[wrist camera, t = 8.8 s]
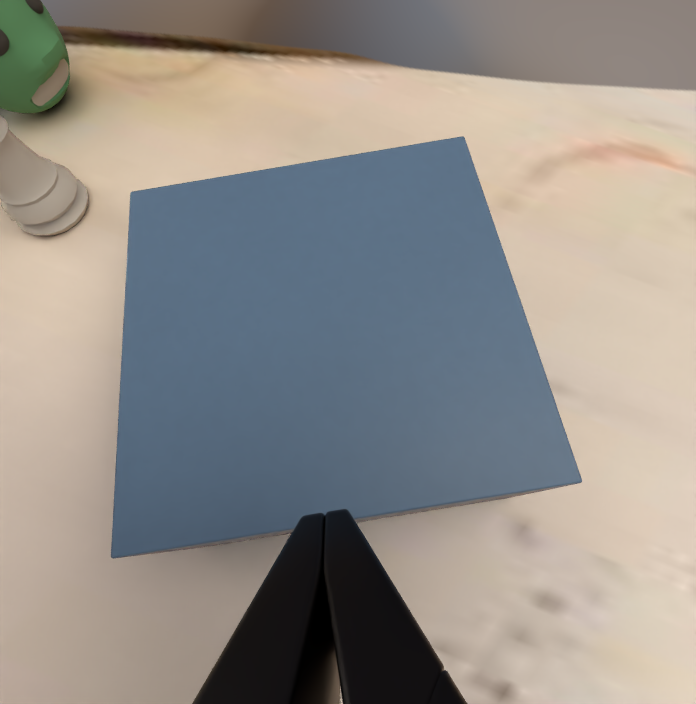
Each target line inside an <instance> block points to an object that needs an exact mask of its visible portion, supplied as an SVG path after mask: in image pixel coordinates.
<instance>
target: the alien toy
mask: <svg viewBox="0 0 696 704" xmlns="http://www.w3.org/2000/svg"><path fill="white" fill-rule="evenodd" d="M69 79H70V74H69V58H68V53H67V49H66V46H65V43H64V41H63V38H62V36H61V34H60V32H59V30H58V28H57V26H56V24H55V23H54V21H53V19H52V17H51V16H50V14H49V12H48V11H47V9H46V8H45V6H44V5H43V3H42V2H41V1H40V0H0V108H2V109H5V110H8V111H12V112H18V113H38V112H41V111H45V110H47V109H49V108H51V107H53V106H54V105H56V104H57V103H58V102H59V101H60V100H61V99H62V97H63V96H64V94H65V92H66V90H67V87H68V84H69Z"/></svg>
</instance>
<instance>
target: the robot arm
mask: <svg viewBox="0 0 696 704" xmlns="http://www.w3.org/2000/svg"><path fill="white" fill-rule="evenodd" d="M340 686H341V692H342V699H343V704H467V702H466V701H465V699H464V698H463V696H462V695H461V693H460V691H459V690H458V688H457V687H456V685H455V683H454V682H453V680H452V678H451V677H450V675H449V673H448V672H447V671H446V670H444V666H443V664H442V663H441V661H440V659H439V658H438V656H437V654H436V653H435V651H434V649H433V648H432V646H431V645H430V643H429V641H428V640H427V638H426V636H425V635H424V633H423V631H422V630H421V628H420V627H419V625H418V623H417V622H416V620H415V618H414V617H413V615H412V613H411V612H410V610H409V609H408V607H407V605H406V604H405V602H404V600H403V599H402V597H401V595H400V594H399V592H398V591H397V589H396V587H395V586H394V584H393V582H392V581H391V579H390V577H389V576H388V574H387V573H386V571H385V569H384V568H383V566H382V564H381V563H380V561H379V559H378V558H377V556H376V555H375V553H374V551H373V550H372V548H371V546H370V545H369V543H368V541H367V540H366V538H365V537H364V535H363V533H362V532H361V530H360V528H359V527H358V525H357V523H356V522H355V520H354V519H353V517H352V515H351V514H350V512H349V511H348V510H347V509H340V510H334V511H328V512H327V513H326V515H324V514H323V513H315V514H309V515H304V516H302V517H301V518H300V520H299V522H298V523H297V525H296V527H295V529H294V530H293V532H292V534H291V535H290V537H289V539H288V541H287V542H286V544H285V546H284V547H283V549H282V551H281V553H280V554H279V556H278V558H277V559H276V561H275V563H274V565H273V566H272V568H271V570H270V571H269V573H268V575H267V577H266V578H265V580H264V582H263V583H262V585H261V587H260V589H259V590H258V592H257V594H256V595H255V597H254V599H253V601H252V602H251V604H250V606H249V607H248V609H247V611H246V613H245V614H244V616H243V618H242V619H241V621H240V623H239V625H238V626H237V628H236V630H235V631H234V633H233V635H232V636H231V638H230V640H229V642H228V643H227V645H226V647H225V648H224V650H223V652H222V654H221V655H220V657H219V659H218V660H217V662H216V664H215V666H214V667H213V669H212V671H211V672H210V674H209V676H208V678H207V679H206V681H205V683H204V684H203V686H202V688H201V690H200V691H199V693H198V695H197V696H196V698H195V700H194V702H193V703H192V704H340Z"/></svg>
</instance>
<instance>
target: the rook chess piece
mask: <svg viewBox="0 0 696 704" xmlns="http://www.w3.org/2000/svg"><path fill="white" fill-rule="evenodd" d="M0 199H1V206H2V208H3V209H4V211H5V212H6V213H7V215H8V216H9V217H10V218H11V220H13V221H16V223H17V224H18V225H19V227H20V228H21V229H22V230H23V231H25V232H28V233H30V234H33V235H57V234H59V233H62V232H65V231H67V230H69V229H70V228H72V227H73V226H75V225H76V224H77V223H78V222H79V221H80V219H81V218H82V217H83V216H84V214H85V211H86V208H87V205H88V195H87V189H86V187H85V186H84V185H83V183H82V182H81V181H80V180H78V179H76V177H75V176H74V175H73V174H72V173H71V172H70V170H68V169H67V168H65V167H64V166H62V165H59V164H56V163H53V162H52V161H51V160H49V159H46V158H43V157H40V156H39V155H37V154H36V153H35V152H33V151H32V150H31V149H30V148H29V147H27V146H26V145H25V144H24V143H23V142H22V141H20V140H19V139H18V138H17V137H16V136H15V135H14V134H13V133H12V132H11V131H10V130H9V129H8V124H7V121H6V120H5V119H4V118H3V117H2V116H0Z"/></svg>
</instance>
